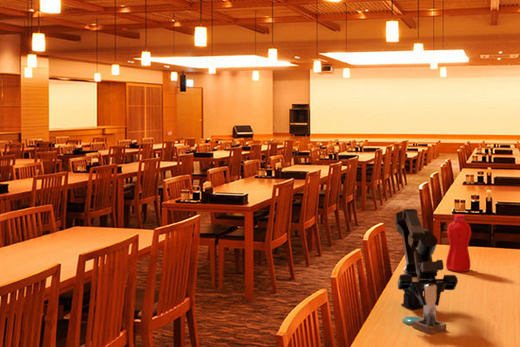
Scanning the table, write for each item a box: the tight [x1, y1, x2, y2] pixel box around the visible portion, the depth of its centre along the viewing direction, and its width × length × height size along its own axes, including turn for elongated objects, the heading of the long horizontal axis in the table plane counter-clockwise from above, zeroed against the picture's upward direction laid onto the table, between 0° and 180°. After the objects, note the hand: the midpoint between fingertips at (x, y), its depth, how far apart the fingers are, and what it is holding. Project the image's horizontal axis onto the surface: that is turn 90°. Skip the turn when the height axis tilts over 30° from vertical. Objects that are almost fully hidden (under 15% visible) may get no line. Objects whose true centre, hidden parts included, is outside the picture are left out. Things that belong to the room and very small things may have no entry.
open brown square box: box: [412, 318, 447, 335], centre depth 211 cm, size 8×8×2 cm
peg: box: [422, 283, 437, 327], centre depth 210 cm, size 4×4×13 cm
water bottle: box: [445, 213, 472, 273], centre depth 288 cm, size 9×11×25 cm
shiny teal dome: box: [402, 316, 423, 326], centre depth 218 cm, size 7×7×1 cm
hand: (430, 305), depth 209 cm, fingers closed on peg, 4 cm apart
